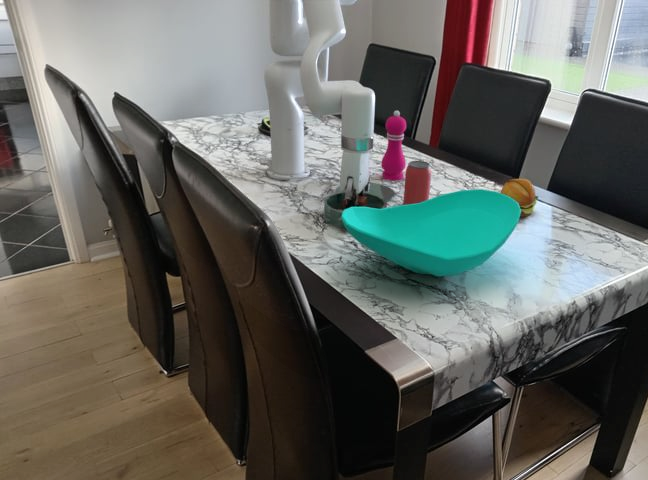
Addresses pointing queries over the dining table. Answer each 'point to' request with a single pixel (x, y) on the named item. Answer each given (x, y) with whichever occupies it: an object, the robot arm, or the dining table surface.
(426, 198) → the beer can
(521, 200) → the cheeseburger
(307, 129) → the salad plate
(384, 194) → the lid
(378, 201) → the pot
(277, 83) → the robot arm
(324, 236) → the dining table surface
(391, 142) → the pepper mill
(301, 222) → the dining table surface
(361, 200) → the dark brown block
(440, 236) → the table top decor
